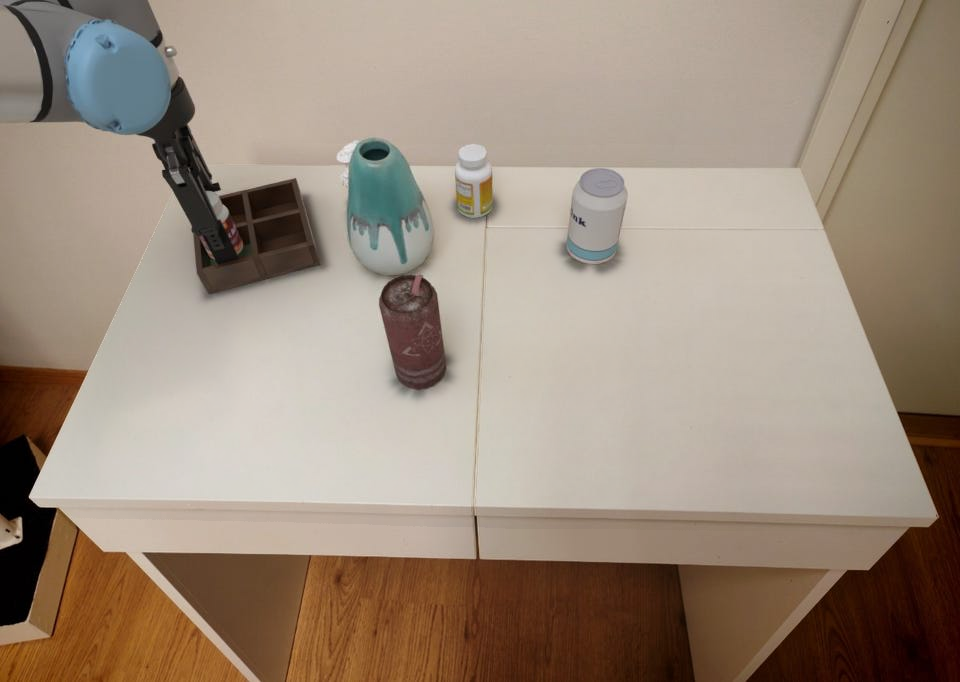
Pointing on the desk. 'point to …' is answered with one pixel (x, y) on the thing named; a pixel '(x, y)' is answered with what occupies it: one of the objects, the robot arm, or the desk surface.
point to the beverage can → (596, 215)
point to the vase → (386, 210)
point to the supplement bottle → (473, 181)
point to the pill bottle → (227, 222)
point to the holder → (262, 237)
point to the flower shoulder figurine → (346, 159)
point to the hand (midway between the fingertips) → (226, 247)
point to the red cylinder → (413, 330)
